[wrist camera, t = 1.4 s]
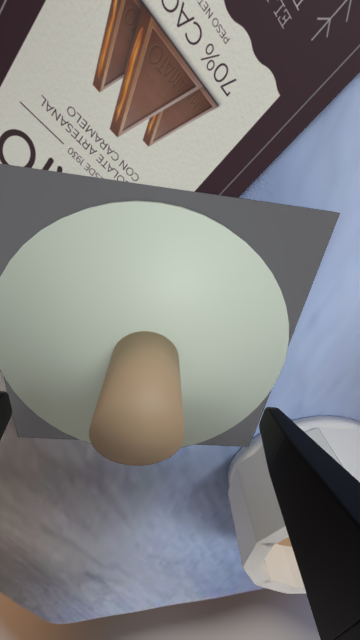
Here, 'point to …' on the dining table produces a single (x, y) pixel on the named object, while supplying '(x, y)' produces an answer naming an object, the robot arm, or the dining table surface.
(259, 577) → the bowl
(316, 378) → the dining table surface
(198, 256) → the lid
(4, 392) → the robot arm
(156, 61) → the chocolate bar
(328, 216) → the mat
